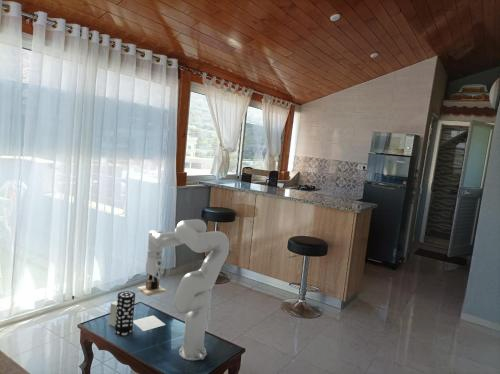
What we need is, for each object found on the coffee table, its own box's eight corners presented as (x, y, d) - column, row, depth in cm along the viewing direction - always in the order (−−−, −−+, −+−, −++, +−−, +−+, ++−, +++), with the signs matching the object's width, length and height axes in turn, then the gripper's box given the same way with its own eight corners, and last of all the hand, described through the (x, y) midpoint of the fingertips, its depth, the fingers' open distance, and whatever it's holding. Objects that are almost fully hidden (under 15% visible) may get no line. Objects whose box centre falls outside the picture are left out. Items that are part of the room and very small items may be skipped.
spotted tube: (122, 327, 185) (125, 290, 183) (135, 331, 182) (138, 293, 180) (110, 334, 177) (113, 295, 175) (124, 339, 174) (128, 299, 172)
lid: (166, 292, 189) (167, 281, 189) (147, 296, 182) (148, 285, 181) (156, 285, 197) (156, 275, 197) (137, 289, 189) (138, 279, 189)
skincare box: (118, 321, 191) (119, 299, 190) (124, 323, 189) (125, 301, 188) (108, 325, 185) (110, 302, 184) (114, 328, 183) (116, 305, 182)
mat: (165, 325, 191) (165, 324, 191) (143, 332, 182) (143, 331, 182) (153, 316, 200) (153, 315, 200) (131, 322, 191) (131, 321, 191)
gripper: (169, 256, 185) (166, 291, 186) (153, 249, 196) (150, 281, 198) (156, 258, 180) (153, 294, 181) (140, 250, 191) (138, 284, 192)
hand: (152, 287), depth 189 cm, fingers closed on lid, 3 cm apart
